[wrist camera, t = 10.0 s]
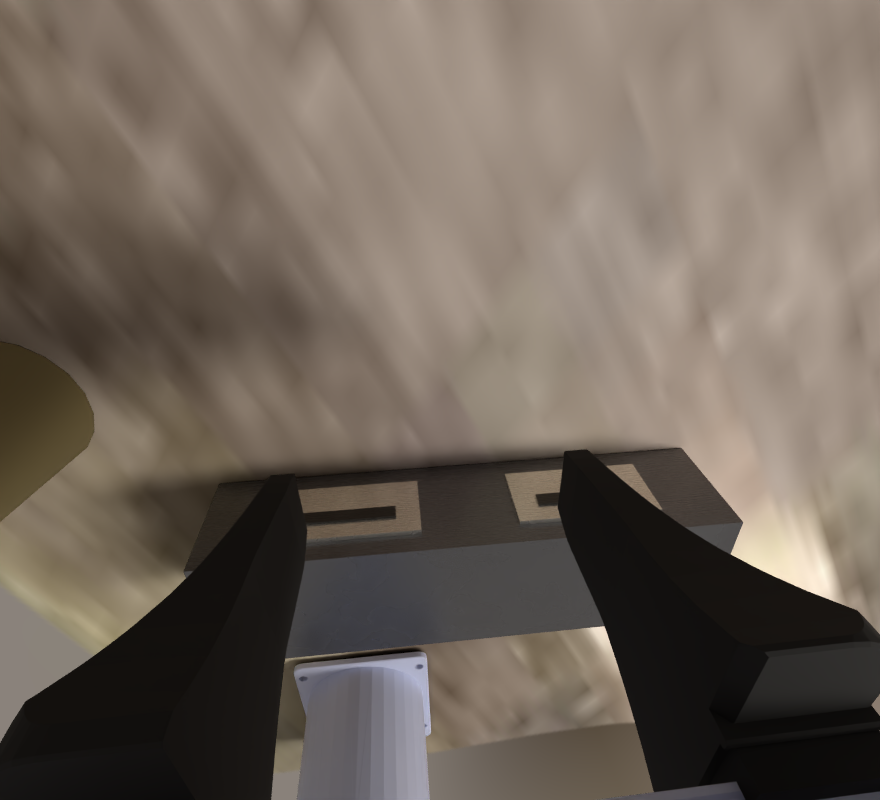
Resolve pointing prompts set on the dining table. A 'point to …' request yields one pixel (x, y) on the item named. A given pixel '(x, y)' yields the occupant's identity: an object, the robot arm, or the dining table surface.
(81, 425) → the cork
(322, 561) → the dark gray slotted box
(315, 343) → the dining table surface
